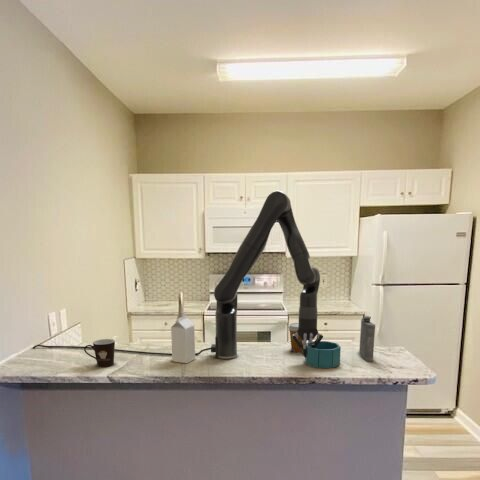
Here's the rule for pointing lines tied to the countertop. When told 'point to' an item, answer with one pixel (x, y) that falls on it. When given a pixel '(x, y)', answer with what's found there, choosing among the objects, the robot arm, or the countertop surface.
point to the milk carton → (183, 340)
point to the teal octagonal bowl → (323, 355)
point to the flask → (367, 339)
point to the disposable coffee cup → (294, 345)
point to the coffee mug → (103, 352)
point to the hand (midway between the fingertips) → (306, 356)
